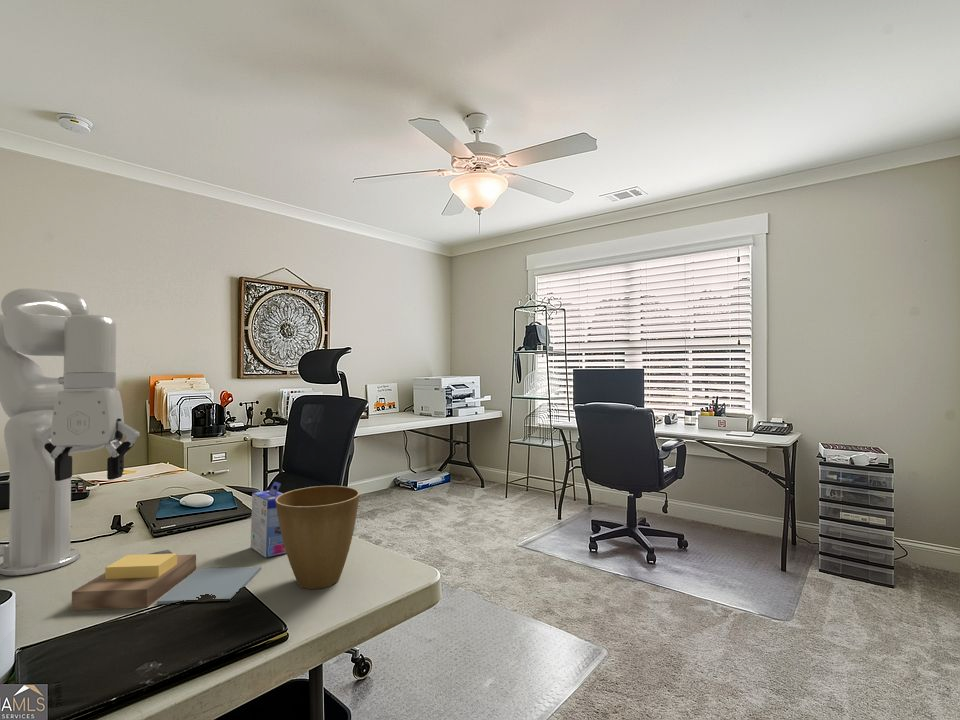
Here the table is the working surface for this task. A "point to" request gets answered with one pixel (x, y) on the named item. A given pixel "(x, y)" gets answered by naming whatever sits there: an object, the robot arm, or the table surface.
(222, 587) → the slate mat
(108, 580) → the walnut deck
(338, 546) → the plant pot
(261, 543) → the ink cartridge box
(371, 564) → the table surface
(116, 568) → the ochre block
